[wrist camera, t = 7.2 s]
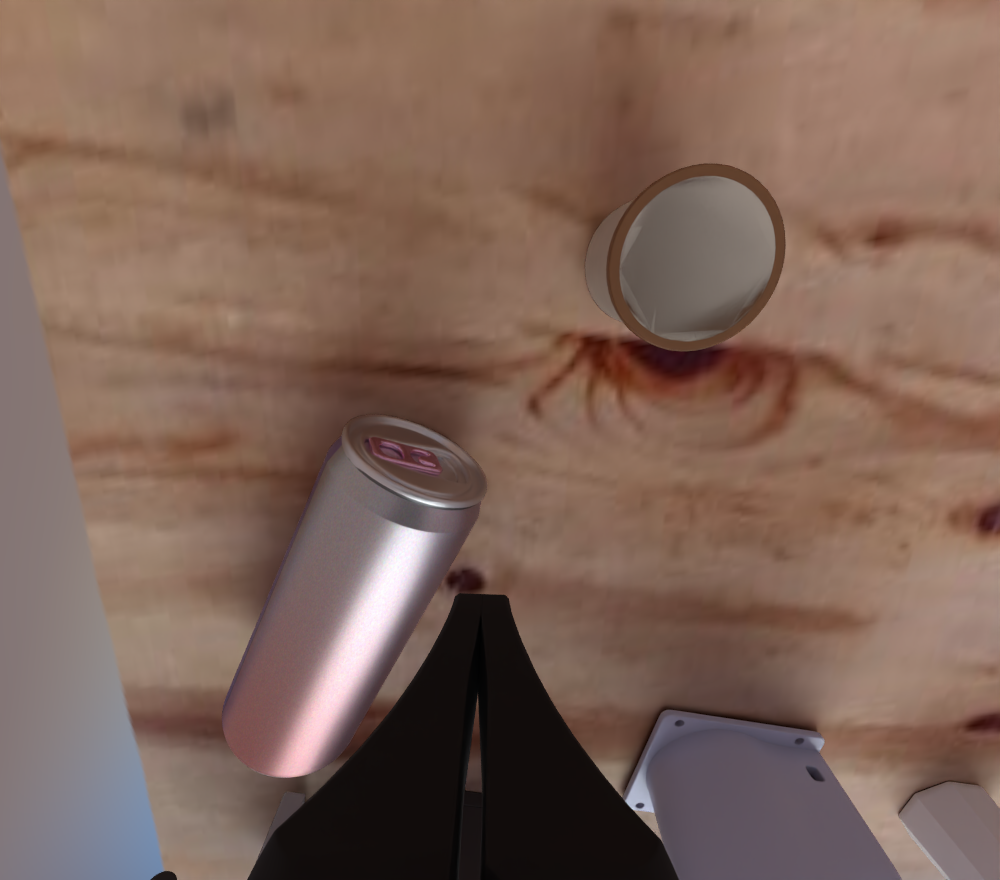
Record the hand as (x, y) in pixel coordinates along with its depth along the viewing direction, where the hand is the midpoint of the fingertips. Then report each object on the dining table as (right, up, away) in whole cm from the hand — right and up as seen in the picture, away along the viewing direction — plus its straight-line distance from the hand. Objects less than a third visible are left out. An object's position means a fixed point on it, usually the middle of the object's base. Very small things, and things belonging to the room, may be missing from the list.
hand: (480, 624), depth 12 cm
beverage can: (-9, -8, +9) cm, 15 cm away
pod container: (+6, +12, +5) cm, 14 cm away
